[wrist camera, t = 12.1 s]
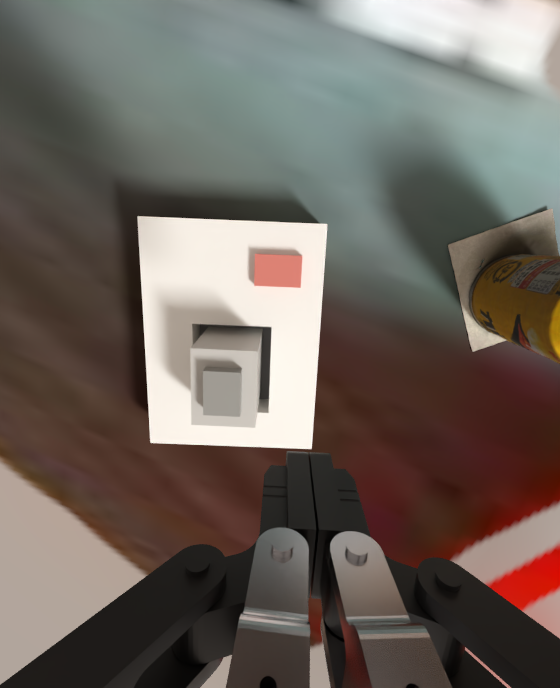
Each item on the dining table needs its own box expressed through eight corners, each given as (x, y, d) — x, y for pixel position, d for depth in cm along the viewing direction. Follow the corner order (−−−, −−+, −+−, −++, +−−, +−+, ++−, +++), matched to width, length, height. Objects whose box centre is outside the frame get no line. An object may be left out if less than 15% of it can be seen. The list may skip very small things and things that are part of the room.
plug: (209, 326, 28) (187, 352, 21) (262, 328, 28) (257, 355, 21) (209, 388, 29) (188, 431, 23) (260, 390, 29) (254, 434, 23)
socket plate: (153, 218, 26) (133, 215, 23) (322, 225, 27) (328, 223, 23) (162, 423, 31) (147, 447, 27) (308, 429, 31) (312, 453, 27)
